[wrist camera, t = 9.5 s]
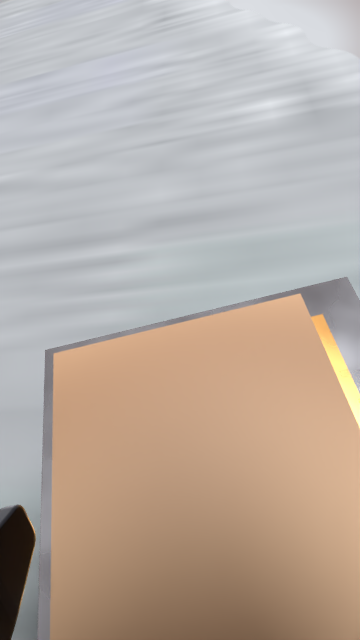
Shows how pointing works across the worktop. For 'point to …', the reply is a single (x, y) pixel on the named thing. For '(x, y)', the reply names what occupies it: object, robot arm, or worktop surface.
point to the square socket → (320, 299)
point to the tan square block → (205, 484)
